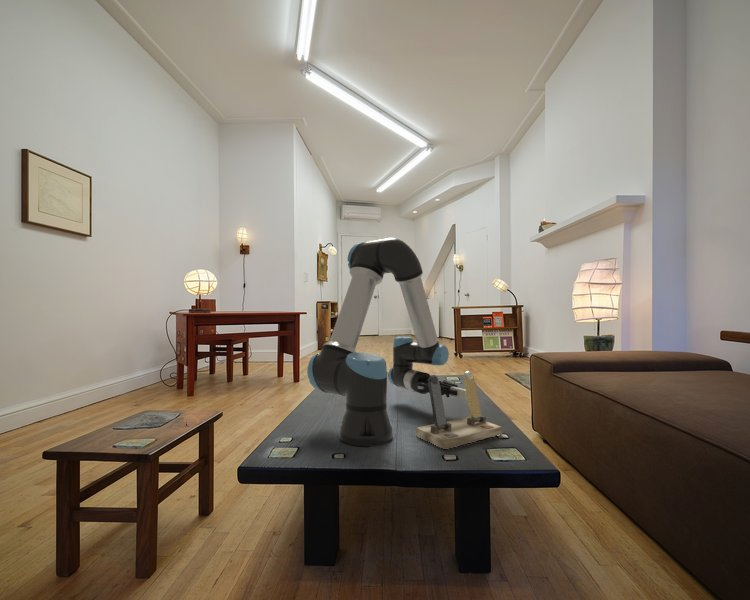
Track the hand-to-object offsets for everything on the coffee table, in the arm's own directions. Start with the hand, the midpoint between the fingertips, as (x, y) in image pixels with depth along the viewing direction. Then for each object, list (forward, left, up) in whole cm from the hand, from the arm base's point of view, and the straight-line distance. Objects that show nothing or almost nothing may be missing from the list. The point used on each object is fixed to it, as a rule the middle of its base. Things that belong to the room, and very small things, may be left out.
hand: (466, 394), depth 115 cm
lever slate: (0, -16, -6) cm, 17 cm away
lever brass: (+4, -2, -6) cm, 8 cm away
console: (+2, -9, -10) cm, 14 cm away
